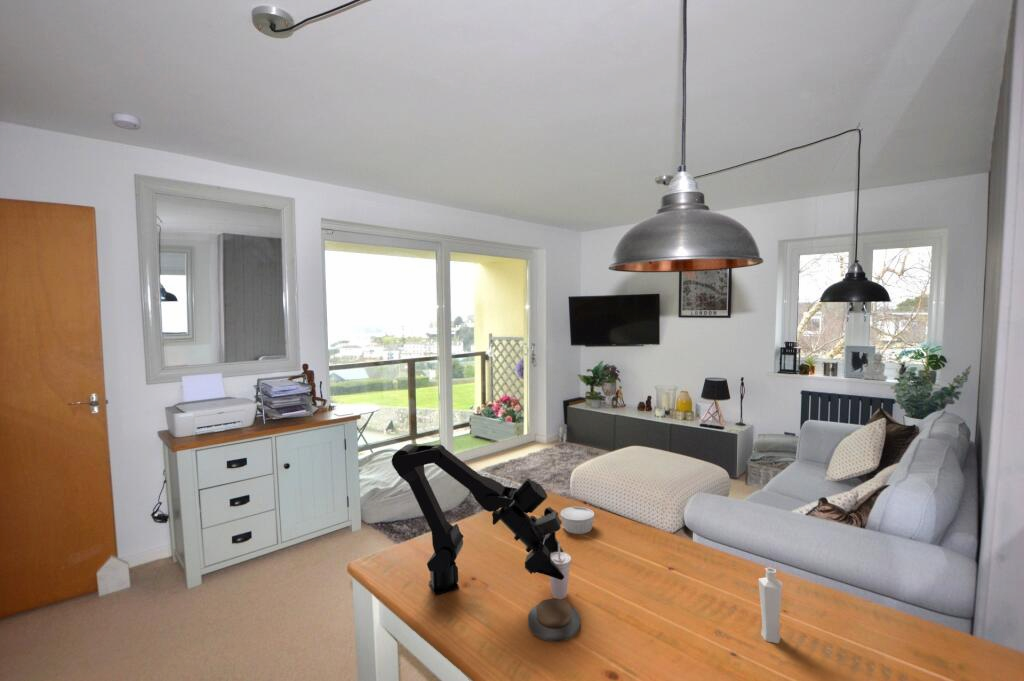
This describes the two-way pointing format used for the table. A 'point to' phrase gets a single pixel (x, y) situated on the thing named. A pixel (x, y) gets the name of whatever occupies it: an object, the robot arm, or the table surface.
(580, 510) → the ramekin
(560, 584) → the white drink cup
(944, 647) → the table surface
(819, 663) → the table surface
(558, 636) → the pedestal
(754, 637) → the table surface
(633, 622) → the table surface
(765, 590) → the perfume bottle
